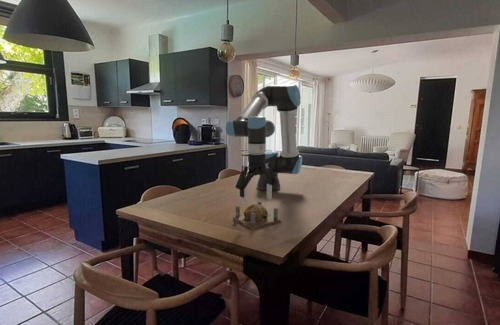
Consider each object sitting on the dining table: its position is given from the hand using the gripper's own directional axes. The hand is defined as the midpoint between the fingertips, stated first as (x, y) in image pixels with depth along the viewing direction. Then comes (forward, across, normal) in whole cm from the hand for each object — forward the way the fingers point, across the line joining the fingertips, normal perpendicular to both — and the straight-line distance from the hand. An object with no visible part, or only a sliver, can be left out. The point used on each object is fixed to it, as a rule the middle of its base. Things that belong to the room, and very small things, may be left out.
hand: (256, 201), depth 123 cm
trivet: (+9, 0, 0) cm, 9 cm away
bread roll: (+8, -1, 0) cm, 8 cm away
